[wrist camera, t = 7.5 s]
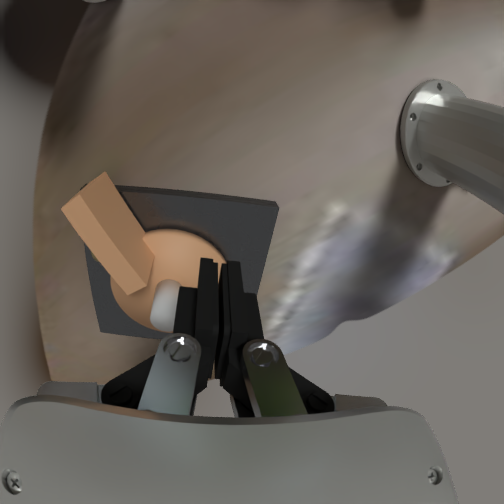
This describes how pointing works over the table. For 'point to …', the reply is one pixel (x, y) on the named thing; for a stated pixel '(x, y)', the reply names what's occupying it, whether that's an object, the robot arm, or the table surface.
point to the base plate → (194, 221)
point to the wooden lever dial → (138, 254)
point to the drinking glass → (94, 1)
